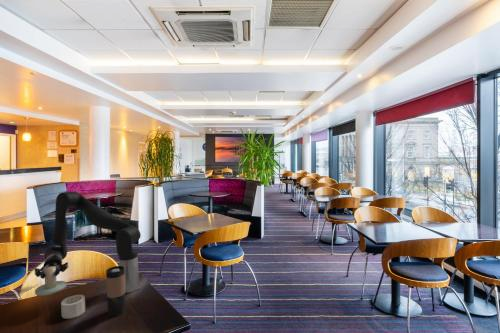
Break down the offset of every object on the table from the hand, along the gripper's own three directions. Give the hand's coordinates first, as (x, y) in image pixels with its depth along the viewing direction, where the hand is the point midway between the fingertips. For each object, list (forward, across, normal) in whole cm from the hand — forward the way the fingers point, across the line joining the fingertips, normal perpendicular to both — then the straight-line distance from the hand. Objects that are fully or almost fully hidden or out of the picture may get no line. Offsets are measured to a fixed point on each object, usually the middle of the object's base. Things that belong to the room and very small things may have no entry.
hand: (49, 275), depth 126 cm
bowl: (+7, +9, +17) cm, 20 cm away
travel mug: (+17, +26, +18) cm, 36 cm away
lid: (-3, 0, +8) cm, 8 cm away
